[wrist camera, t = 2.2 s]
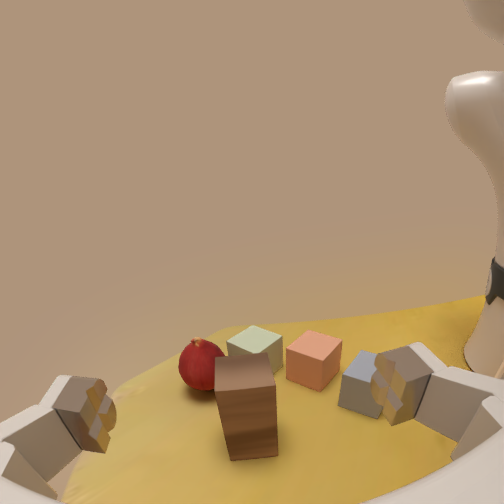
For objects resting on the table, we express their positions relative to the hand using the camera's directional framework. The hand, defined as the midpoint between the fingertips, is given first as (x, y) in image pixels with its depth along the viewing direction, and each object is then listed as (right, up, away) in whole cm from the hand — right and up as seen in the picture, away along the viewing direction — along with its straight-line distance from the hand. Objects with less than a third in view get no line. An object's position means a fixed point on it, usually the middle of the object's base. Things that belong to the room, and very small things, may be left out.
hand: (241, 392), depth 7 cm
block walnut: (0, -15, +17) cm, 22 cm away
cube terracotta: (+8, -12, +27) cm, 30 cm away
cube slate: (+13, -13, +21) cm, 28 cm away
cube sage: (+1, -12, +29) cm, 31 cm away
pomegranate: (-5, -13, +25) cm, 29 cm away
